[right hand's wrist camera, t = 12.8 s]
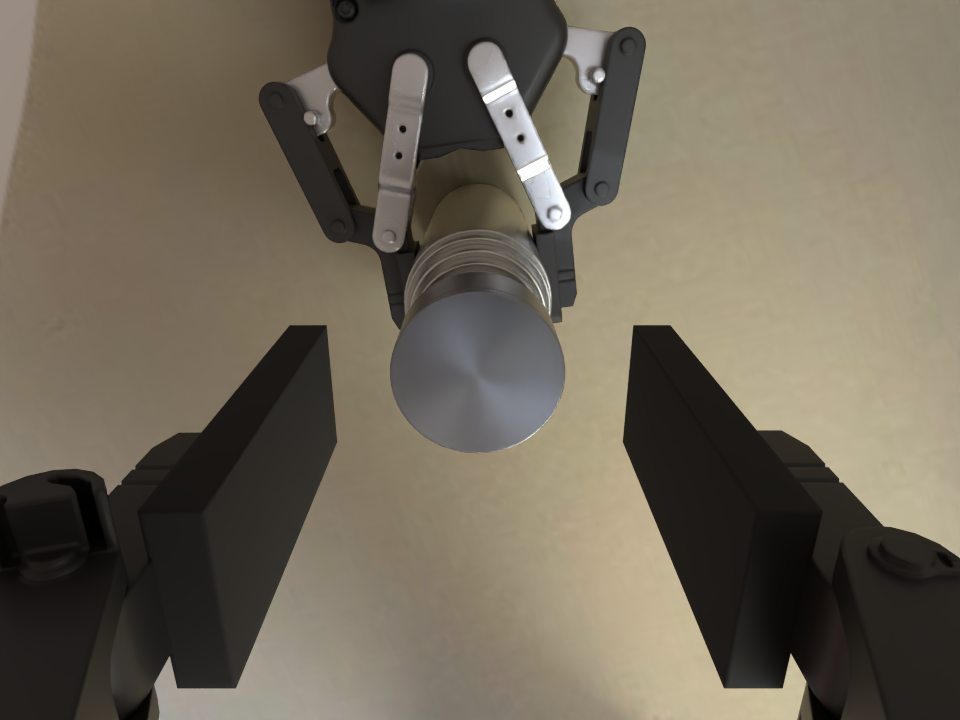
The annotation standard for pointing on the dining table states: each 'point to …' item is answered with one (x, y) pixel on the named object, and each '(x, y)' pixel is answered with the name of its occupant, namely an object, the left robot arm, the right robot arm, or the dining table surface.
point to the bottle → (478, 243)
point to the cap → (477, 363)
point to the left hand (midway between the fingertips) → (486, 324)
